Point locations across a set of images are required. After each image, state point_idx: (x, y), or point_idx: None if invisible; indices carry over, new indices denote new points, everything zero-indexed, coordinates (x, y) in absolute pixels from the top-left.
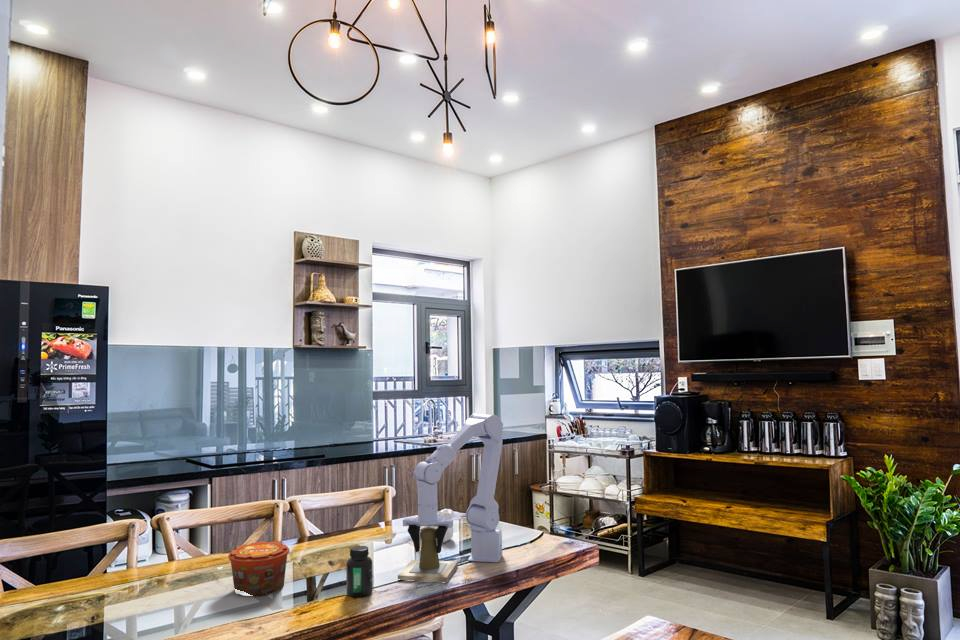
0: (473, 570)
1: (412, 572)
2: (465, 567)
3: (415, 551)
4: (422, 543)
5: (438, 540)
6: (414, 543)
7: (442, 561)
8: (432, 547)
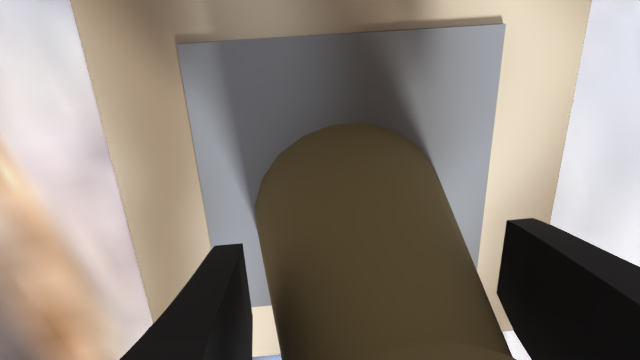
0: (15, 299)
1: (467, 24)
2: (109, 338)
3: (540, 222)
4: (491, 324)
5: (169, 356)
6: (625, 267)
7: None
8: (317, 294)
